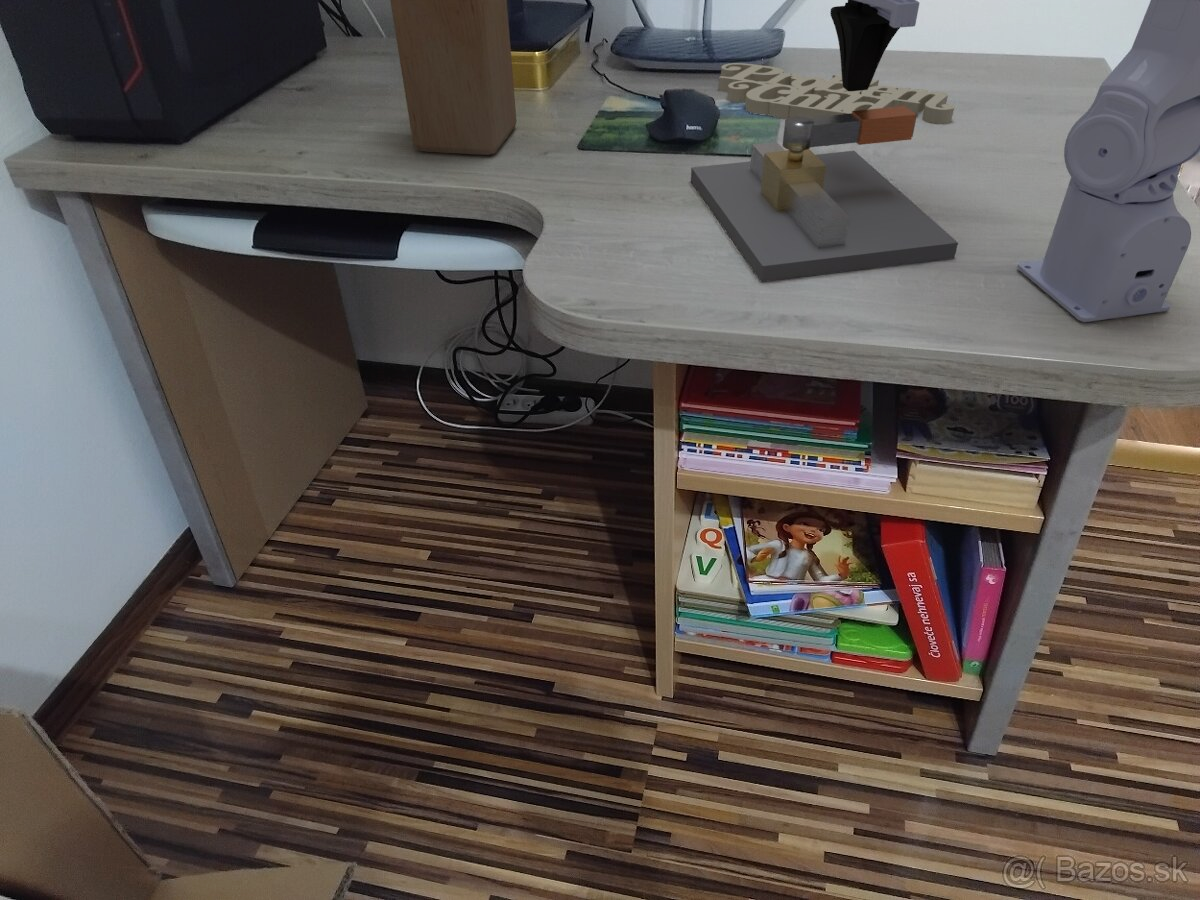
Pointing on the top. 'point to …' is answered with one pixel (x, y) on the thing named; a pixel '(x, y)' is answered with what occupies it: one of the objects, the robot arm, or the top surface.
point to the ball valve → (800, 192)
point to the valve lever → (849, 128)
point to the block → (456, 73)
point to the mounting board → (782, 250)
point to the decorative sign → (821, 95)
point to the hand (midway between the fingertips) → (855, 88)
